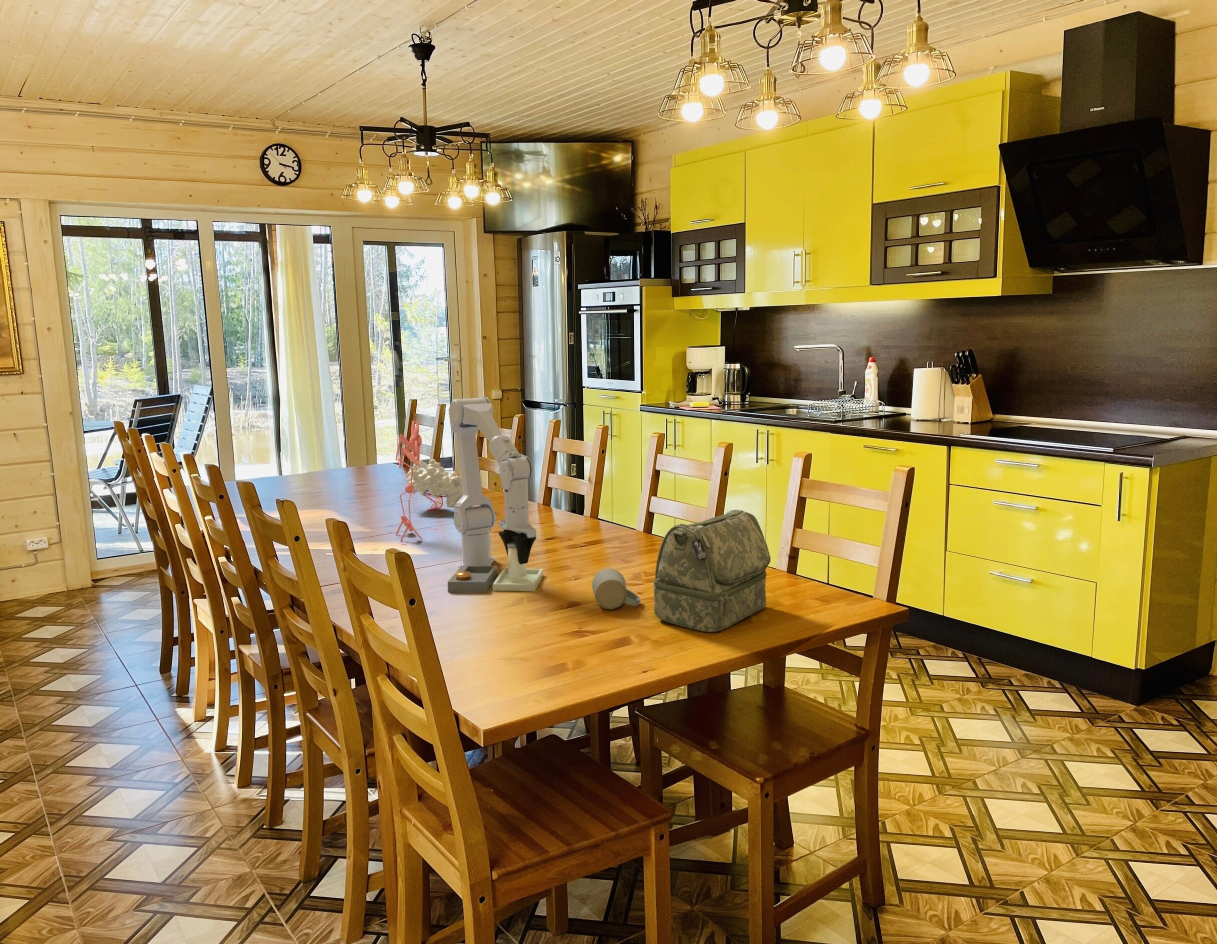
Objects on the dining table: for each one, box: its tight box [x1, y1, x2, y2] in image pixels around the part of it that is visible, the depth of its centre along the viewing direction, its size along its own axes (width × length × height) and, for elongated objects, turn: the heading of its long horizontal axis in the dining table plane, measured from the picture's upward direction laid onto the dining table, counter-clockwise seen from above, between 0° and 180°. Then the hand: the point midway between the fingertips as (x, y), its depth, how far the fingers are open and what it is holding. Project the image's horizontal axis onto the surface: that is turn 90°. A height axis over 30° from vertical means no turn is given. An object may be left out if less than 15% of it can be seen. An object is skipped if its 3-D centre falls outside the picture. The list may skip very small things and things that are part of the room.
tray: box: [492, 568, 544, 592], centre depth 220 cm, size 14×10×2 cm
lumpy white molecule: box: [406, 458, 475, 512], centre depth 310 cm, size 20×18×25 cm
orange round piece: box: [455, 571, 471, 580], centre depth 216 cm, size 4×4×4 cm
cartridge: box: [507, 542, 527, 578], centre depth 219 cm, size 5×5×8 cm
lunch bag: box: [653, 509, 772, 633], centre depth 192 cm, size 26×18×22 cm
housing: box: [447, 565, 498, 593], centre depth 220 cm, size 15×9×2 cm, turn 176°
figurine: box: [394, 420, 446, 546], centre depth 269 cm, size 15×26×35 cm, turn 22°
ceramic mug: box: [591, 567, 641, 610], centre depth 201 cm, size 11×8×8 cm
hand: (518, 561), depth 219 cm, fingers closed on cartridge, 4 cm apart
